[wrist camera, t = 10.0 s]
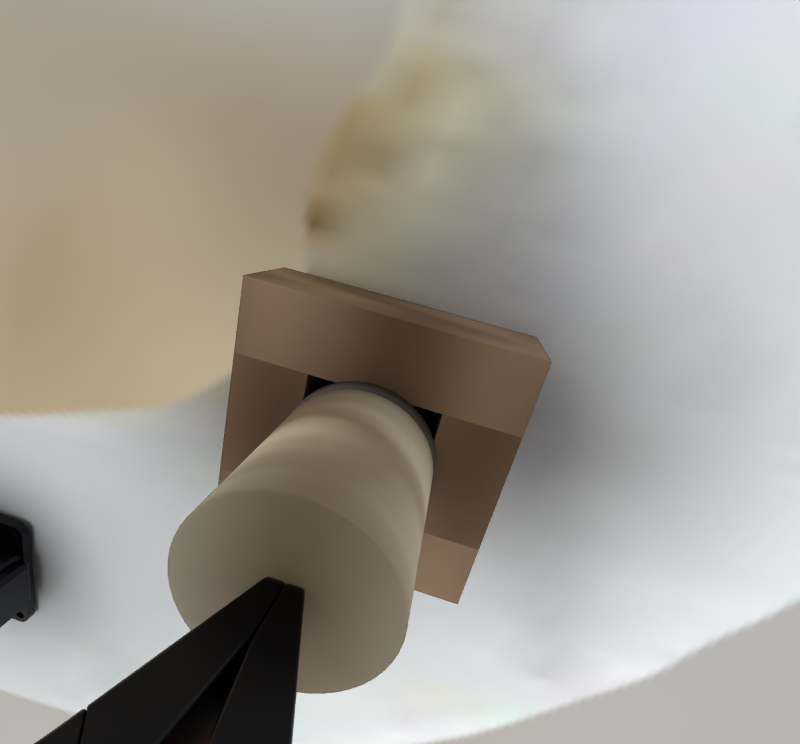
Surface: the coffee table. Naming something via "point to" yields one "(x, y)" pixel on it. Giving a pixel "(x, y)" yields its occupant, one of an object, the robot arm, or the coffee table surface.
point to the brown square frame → (399, 372)
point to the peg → (320, 529)
